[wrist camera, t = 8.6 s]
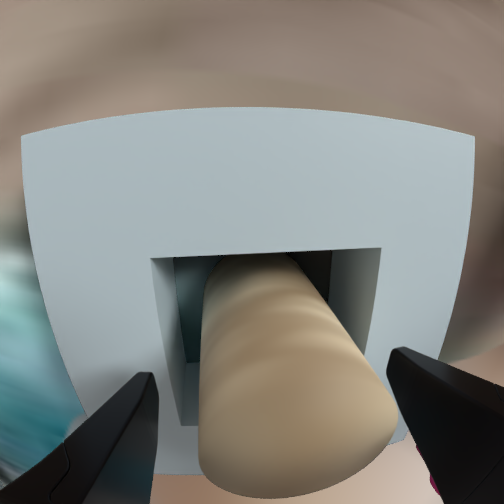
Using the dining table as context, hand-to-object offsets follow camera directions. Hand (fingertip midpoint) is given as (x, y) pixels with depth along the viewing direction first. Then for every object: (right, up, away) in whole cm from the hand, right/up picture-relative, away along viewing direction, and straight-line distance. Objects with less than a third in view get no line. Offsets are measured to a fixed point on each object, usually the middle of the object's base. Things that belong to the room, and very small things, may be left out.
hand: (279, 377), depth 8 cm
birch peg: (-1, +2, +5) cm, 5 cm away
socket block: (-1, +1, +5) cm, 5 cm away
